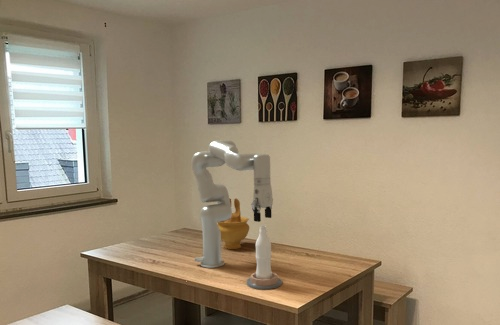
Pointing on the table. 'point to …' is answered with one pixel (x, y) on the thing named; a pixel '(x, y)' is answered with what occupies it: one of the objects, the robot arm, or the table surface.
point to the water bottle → (263, 255)
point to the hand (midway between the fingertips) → (262, 219)
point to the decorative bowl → (234, 228)
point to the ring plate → (264, 282)
